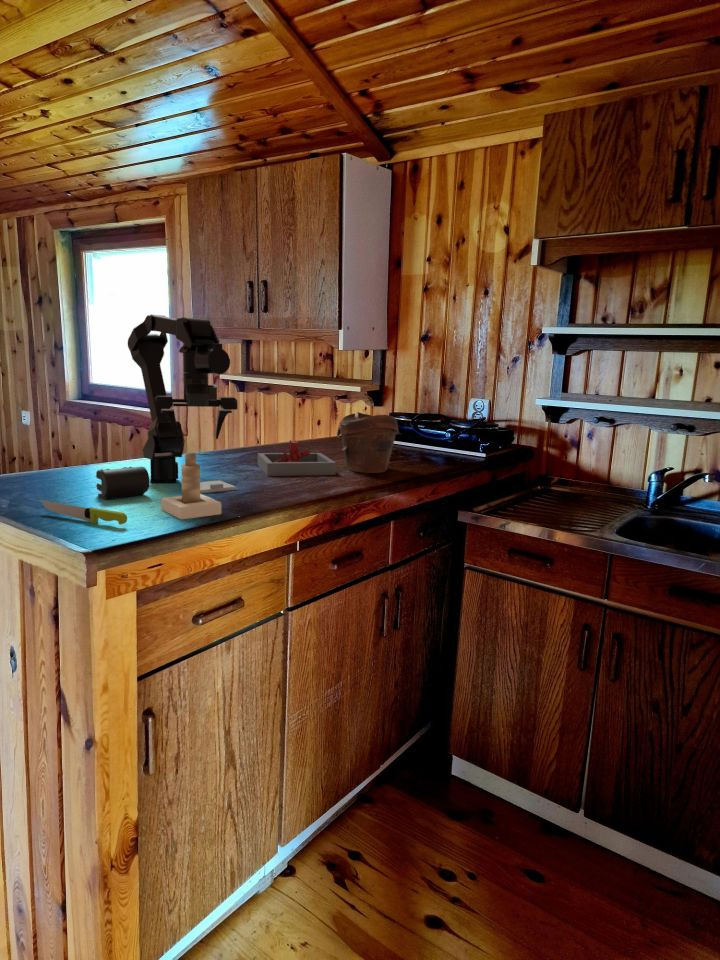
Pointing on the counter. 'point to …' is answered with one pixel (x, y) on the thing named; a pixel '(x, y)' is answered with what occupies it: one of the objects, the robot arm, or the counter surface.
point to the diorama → (293, 453)
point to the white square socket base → (190, 507)
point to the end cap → (122, 482)
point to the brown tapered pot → (367, 441)
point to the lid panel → (215, 486)
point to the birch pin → (190, 479)
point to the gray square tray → (296, 465)
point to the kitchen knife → (86, 512)
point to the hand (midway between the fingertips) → (197, 439)
